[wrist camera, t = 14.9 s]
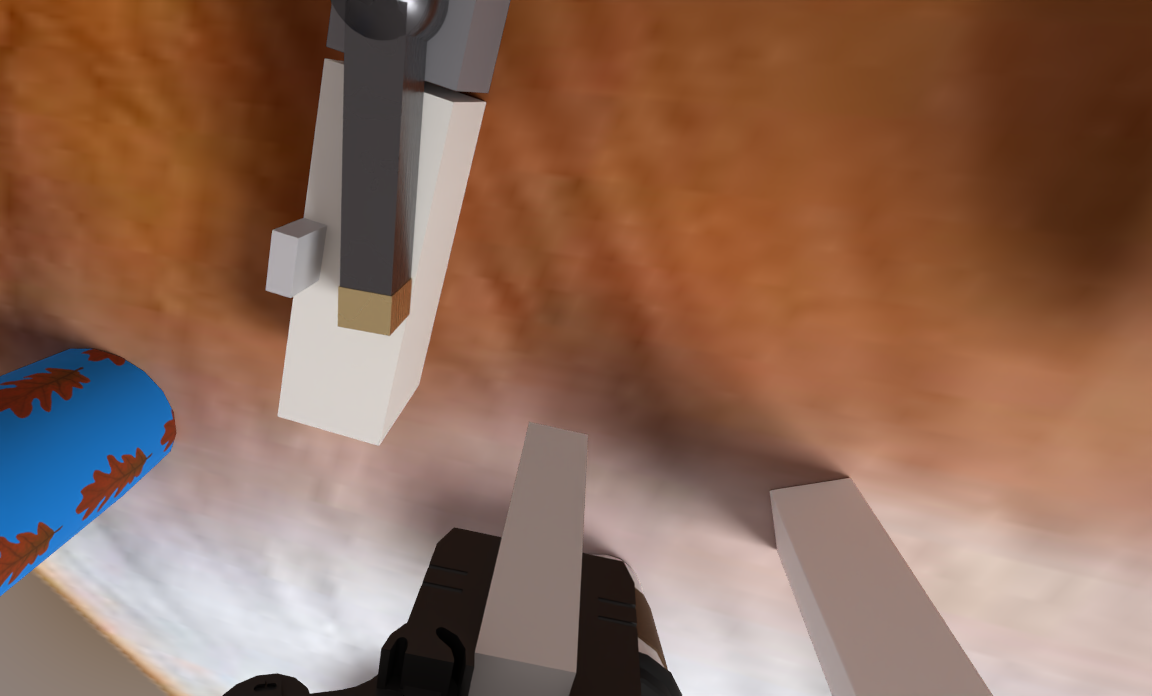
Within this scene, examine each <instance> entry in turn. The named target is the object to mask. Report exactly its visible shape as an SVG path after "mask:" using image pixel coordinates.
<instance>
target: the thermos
mask: <svg viewBox="0 0 1152 696" xmlns="http://www.w3.org/2000/svg"><path fill="white" fill-rule="evenodd" d="M175 436H176V427H175V419H174V412H173V410H172V408H171V406H170V405H169V403H168V401H167V399H166V397H165V395H164V393H163V391H162V390H161V389H160V388H159V387H158V386H157V385H156V384H155V383H154V382H153V380H152V379H151V378H150V377H149V376H148V375H147V374H146V373H145V372H144V371H142V370H141V369H139V368H138V367H136V366H134V365H133V364H131V363H130V362H128V361H126V360H125V359H123V358H122V357H120V356H117V355H113V354H110V353H107V352H104V351H100V350H97V349H68V350H65V351H63V352H60V353H58V354H55V355H53V356H50V357H48V358H45V359H42V360H40V361H37V362H35V363H32V364H30V365H27V366H25V367H22V368H19V369H17V370H15V371H12V372H10V373H7V374H5V375H2V376H0V596H1V595H2V594H4V593H5V592H6V591H7V590H8V589H10V588H11V587H12V586H13V585H15V584H16V583H17V582H18V581H19V580H21V579H22V578H23V577H24V576H26V575H27V574H28V573H29V572H30V571H32V570H33V569H34V568H35V567H37V566H38V565H39V564H40V563H41V562H43V561H44V560H45V559H46V558H48V557H49V556H50V555H51V554H52V553H54V552H55V551H56V550H57V549H58V548H60V547H61V546H62V545H63V544H65V543H66V542H67V541H68V540H69V539H71V538H72V537H73V536H74V535H76V534H77V533H78V532H79V531H80V530H82V529H83V528H84V527H85V526H87V525H88V524H89V523H90V522H91V521H93V520H94V519H95V518H96V517H97V516H99V515H100V514H101V513H102V512H104V511H105V510H106V509H107V508H108V507H110V506H111V505H112V504H113V503H115V502H116V501H117V500H118V499H119V498H121V497H122V496H123V495H124V494H125V493H126V492H127V491H128V490H129V489H131V488H132V487H133V486H134V485H135V484H136V483H137V482H138V481H139V480H140V479H141V478H142V477H144V476H145V475H146V474H147V473H148V472H149V471H150V470H151V469H152V468H153V467H154V466H155V465H157V464H158V463H159V462H160V461H161V460H162V459H163V458H164V457H165V456H166V455H167V454H168V453H169V452H170V451H171V448H172V445H173V442H174V439H175Z"/></svg>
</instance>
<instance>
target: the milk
mask: <svg viewBox="0 0 1152 696" xmlns="http://www.w3.org/2000/svg"><path fill="white" fill-rule="evenodd" d="M770 499H771V507H772V514H773V522H774V530H775V538H776V546H777V552H778V555H779V557H780V560H781V562H782V565H783V568H784V570H785V573H786V576H787V578H788V581H789V583H790V586H791V589H792V591H793V594H794V596H795V599H796V602H797V604H798V607H799V610H800V612H801V615H802V617H803V620H804V623H805V625H806V628H807V630H808V633H809V636H810V638H811V641H812V644H813V646H814V649H815V651H816V654H817V657H818V659H819V662H820V664H821V667H822V670H823V672H824V675H825V678H826V680H827V683H828V685H829V688H830V691H831V693H832V696H993V695H992V693H991V692H990V690H989V689H988V687H987V686H986V684H985V683H984V681H983V680H982V678H981V677H980V675H979V673H978V672H977V670H976V669H975V667H974V666H973V664H972V663H971V661H970V660H969V658H968V657H967V655H966V654H965V652H964V650H963V649H962V647H961V646H960V644H959V643H958V641H957V640H956V638H955V637H954V635H953V634H952V632H951V631H950V629H949V627H948V626H947V624H946V623H945V621H944V620H943V618H942V617H941V615H940V614H939V612H938V611H937V609H936V607H935V606H934V604H933V603H932V601H931V600H930V598H929V597H928V595H927V594H926V592H925V591H924V589H923V588H922V586H921V584H920V583H919V581H918V580H917V578H916V577H915V575H914V574H913V572H912V571H911V569H910V568H909V566H908V565H907V563H906V561H905V560H904V558H903V557H902V555H901V554H900V552H899V551H898V549H897V548H896V546H895V545H894V543H893V542H892V540H891V538H890V537H889V535H888V534H887V532H886V531H885V529H884V528H883V526H882V525H881V523H880V522H879V520H878V519H877V517H876V515H875V514H874V512H873V511H872V509H871V508H870V506H869V505H868V503H867V502H866V500H865V499H864V497H863V496H862V494H861V492H860V491H859V489H858V488H857V486H856V485H855V483H854V482H853V480H852V479H851V478H845V479H839V480H833V481H826V482H820V483H814V484H807V485H801V486H795V487H788V488H782V489H776V490H770Z"/></svg>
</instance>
